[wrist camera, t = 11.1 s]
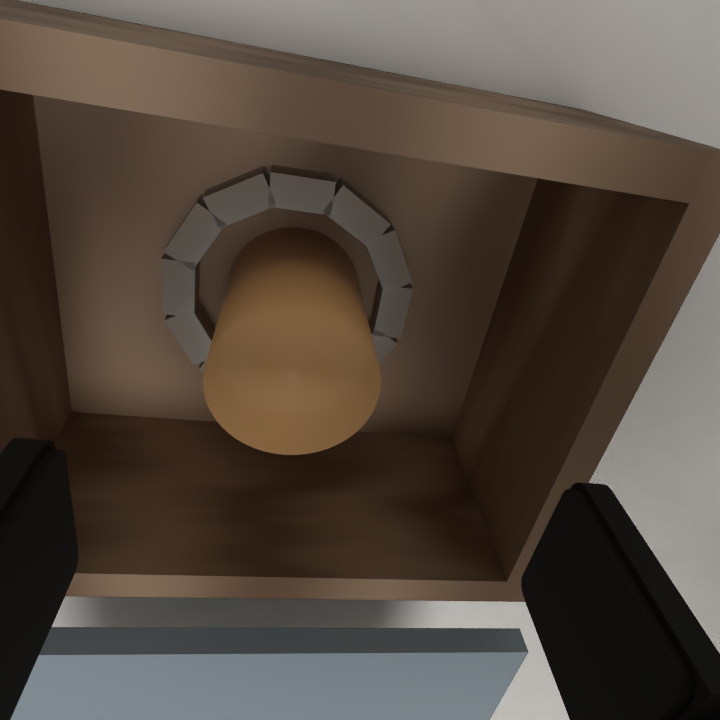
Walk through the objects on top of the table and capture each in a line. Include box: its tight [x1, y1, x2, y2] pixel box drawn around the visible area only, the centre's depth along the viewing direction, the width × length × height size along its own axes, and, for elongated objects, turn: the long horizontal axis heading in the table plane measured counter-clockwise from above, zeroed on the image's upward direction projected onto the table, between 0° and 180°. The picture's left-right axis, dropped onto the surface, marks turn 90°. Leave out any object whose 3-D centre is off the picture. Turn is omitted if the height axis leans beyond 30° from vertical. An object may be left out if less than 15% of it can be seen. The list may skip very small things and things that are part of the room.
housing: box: [0, 0, 720, 602], centre depth 16 cm, size 17×14×8 cm
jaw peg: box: [203, 227, 381, 455], centre depth 16 cm, size 4×4×6 cm
